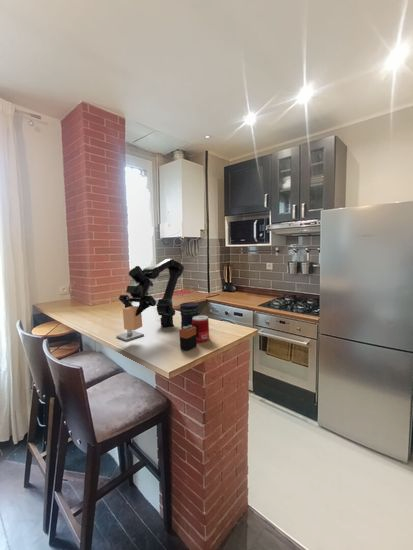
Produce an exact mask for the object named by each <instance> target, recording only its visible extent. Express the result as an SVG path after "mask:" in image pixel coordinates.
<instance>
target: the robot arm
mask: <svg viewBox="0 0 413 550" xmlns="http://www.w3.org/2000/svg"><path fill="white" fill-rule="evenodd" d="M166 269H167V270H168V273H169V278H168V280H167V284H166V287H165V291H164V293H163V297H162V298H159V299H158V301H156V299H155V297H154V296H153V295H149V289H150V288H151V287H154V283H153V281H152V280H156V279H157V278H158V277H159V276H160V274H161V273H162V272H163V271H165V270H166ZM184 269H185V267H184V265H183V264H182V263H180V262H179V261H176V260H175V259H173V258H165V259H164V260H162V261H161V262H159V263H157V264H155V265H154V266H150V267H149V266H148V267H145V268H143V269H142V268H141V266H140V265H136V266H134V267H133V268H132V269H130V270H129V272H128V276H129V277H130V278H131V279H132V280H133V281H134V282H135V283H136V284H137V285H127V286H126V292H125V293H127V294H120V295H119V297H118V300H119V301H120V302H121V303H122V304H123V305H124V308H126V307H129V306H134V305H133V304H132V303H133V302H135V303H138V304H139V305H137V306H138V309H137V311H136V314H135V315H136V316H138V315H139V314H140V313H141V314H142V312H144V311H145V310H146V309H148V308H150V307H155V306H156V312H157V315H158V316H161V317H160V318H159V319H160V326H161V327H162V328H167V327H169V328H170V327H174V326H175V325H174V318H173V316H175V314H176V310H175V309H174V308H173V301H172V299H173V296H174V294H175V293H174V292H175V289H176V286H177V281H178V279H179V278H180V277H181V276H182V274H183V272H184ZM128 294H129V295H130V296H129V295H128ZM156 303H157V304H156Z"/></svg>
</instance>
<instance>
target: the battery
mask: <svg viewBox="0 0 413 550" xmlns="http://www.w3.org/2000/svg"><path fill="white" fill-rule="evenodd" d="M178 330H179V346H180V350H183V351H186V352H189V351H190V350H192V349H195V348H196V347H197V345H198V342H197V340H196V327H194V326H192V325H188V326H185V327H183V328H180V329H178Z"/></svg>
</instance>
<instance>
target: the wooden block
mask: <svg viewBox="0 0 413 550" xmlns="http://www.w3.org/2000/svg"><path fill="white" fill-rule="evenodd" d="M138 306H139V305H137V306H136V305H133V306H129V307H126V308H125V307H124V308H122V317H123V329H124V330H126V331H127V330H132V331H137V330H139V329H140V328H142V327H143V318H142V317H143V315H142V312H141V313H140V314H139V315H138V316H136V315H135V314H136V311H137V309H138Z"/></svg>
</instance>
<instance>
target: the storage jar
mask: <svg viewBox="0 0 413 550" xmlns="http://www.w3.org/2000/svg"><path fill="white" fill-rule="evenodd" d="M179 306H180V308H179V310H180V311H179V312H180V316H181V317H180V319H181V321H180V329H182V328H183V327H185V326H188V325H192V318H193V317H194V316H199V313H200V308H199V302H195V301H189V302H187V301H186V302H183V303H180V304H179ZM192 326H193V325H192Z"/></svg>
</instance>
